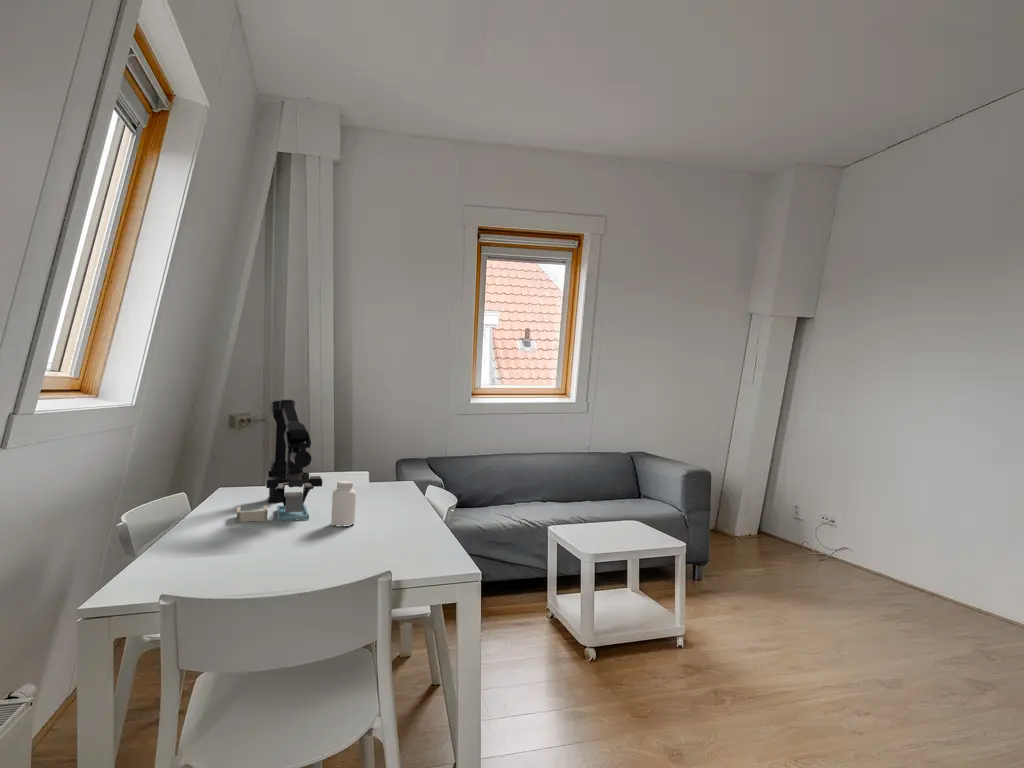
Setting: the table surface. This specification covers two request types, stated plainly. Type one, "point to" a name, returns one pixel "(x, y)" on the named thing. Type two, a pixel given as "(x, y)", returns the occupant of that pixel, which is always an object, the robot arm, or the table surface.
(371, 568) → the table surface
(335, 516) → the pill bottle
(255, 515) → the bay
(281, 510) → the tray
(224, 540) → the table surface
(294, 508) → the grey rectangular block
